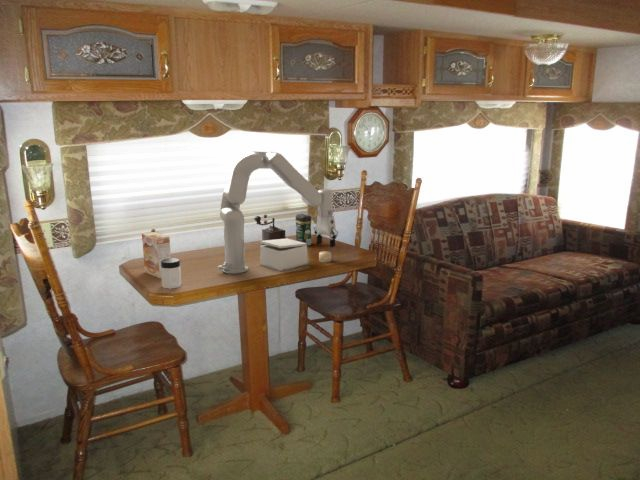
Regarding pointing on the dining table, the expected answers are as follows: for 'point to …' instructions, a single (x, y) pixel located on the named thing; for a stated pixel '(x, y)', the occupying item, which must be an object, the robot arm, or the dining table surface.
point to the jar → (171, 273)
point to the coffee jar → (303, 228)
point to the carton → (283, 257)
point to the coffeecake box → (155, 252)
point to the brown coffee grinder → (270, 231)
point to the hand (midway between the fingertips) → (326, 245)
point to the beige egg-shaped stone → (324, 256)
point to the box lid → (284, 243)
